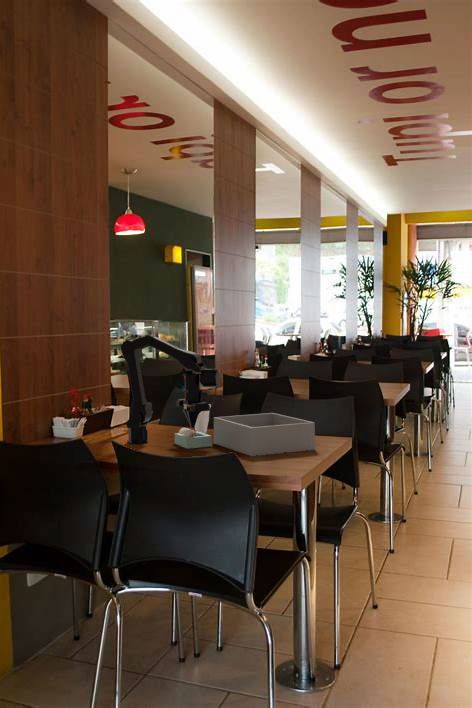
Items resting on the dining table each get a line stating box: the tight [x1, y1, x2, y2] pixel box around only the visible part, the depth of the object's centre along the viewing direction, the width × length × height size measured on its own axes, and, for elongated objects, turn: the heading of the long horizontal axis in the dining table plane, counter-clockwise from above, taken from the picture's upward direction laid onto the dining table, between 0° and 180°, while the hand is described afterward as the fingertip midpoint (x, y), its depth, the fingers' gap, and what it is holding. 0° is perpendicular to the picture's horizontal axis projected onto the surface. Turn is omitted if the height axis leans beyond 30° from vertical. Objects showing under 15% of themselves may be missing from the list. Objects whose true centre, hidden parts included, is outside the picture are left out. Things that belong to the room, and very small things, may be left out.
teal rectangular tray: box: [174, 431, 213, 449], centre depth 273 cm, size 10×12×4 cm
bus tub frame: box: [213, 412, 316, 457], centre depth 269 cm, size 26×30×10 cm
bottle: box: [178, 427, 197, 437], centre depth 276 cm, size 4×4×8 cm
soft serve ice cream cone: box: [194, 404, 212, 434], centre depth 301 cm, size 8×8×16 cm
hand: (192, 427), depth 273 cm, fingers closed
